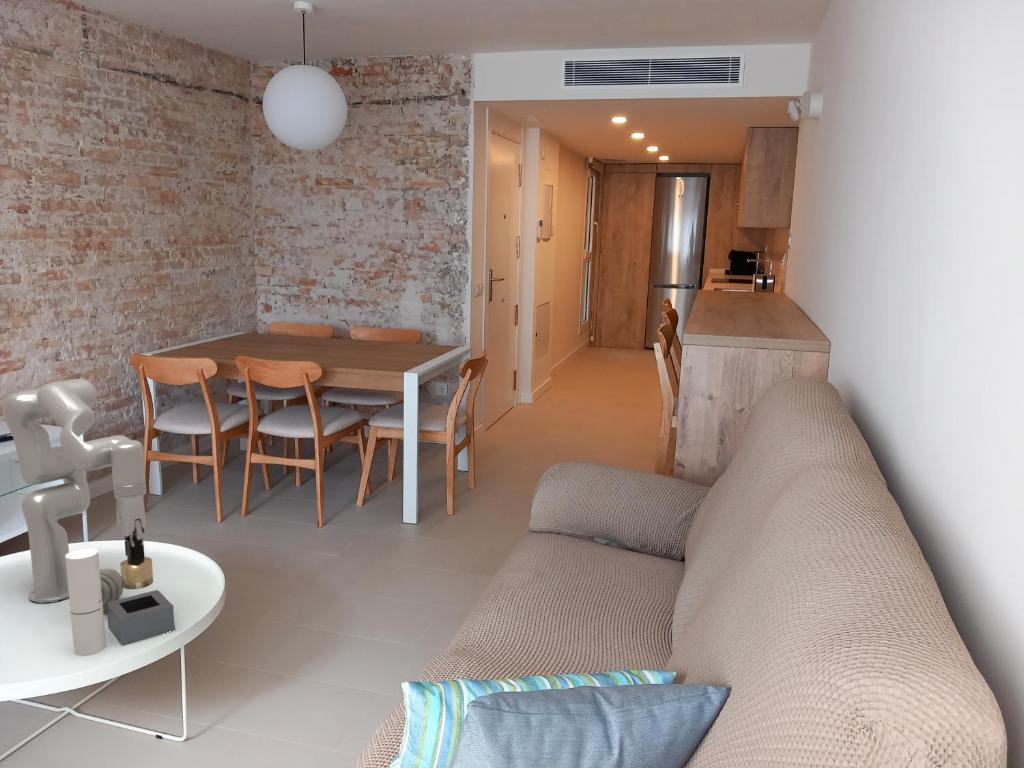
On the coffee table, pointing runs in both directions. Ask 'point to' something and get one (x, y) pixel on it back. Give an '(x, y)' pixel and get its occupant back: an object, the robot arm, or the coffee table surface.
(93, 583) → the cylindrical container
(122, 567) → the stepped cylindrical shaft
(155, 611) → the block
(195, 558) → the coffee table surface
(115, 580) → the toy sheep
